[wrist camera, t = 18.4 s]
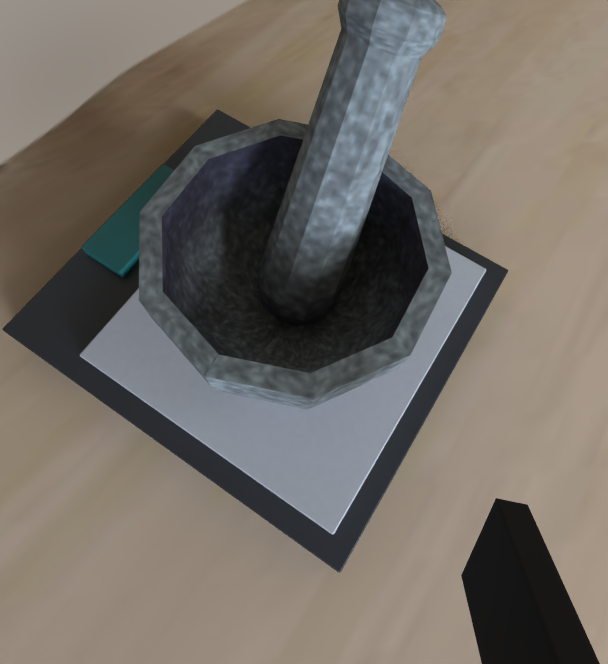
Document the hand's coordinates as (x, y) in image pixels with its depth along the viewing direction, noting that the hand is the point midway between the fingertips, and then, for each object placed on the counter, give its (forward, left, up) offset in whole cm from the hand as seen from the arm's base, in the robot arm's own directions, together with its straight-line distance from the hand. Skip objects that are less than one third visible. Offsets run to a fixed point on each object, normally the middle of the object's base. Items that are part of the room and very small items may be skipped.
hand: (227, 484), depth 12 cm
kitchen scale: (-4, +8, -9) cm, 13 cm away
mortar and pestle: (-3, +8, -7) cm, 11 cm away
